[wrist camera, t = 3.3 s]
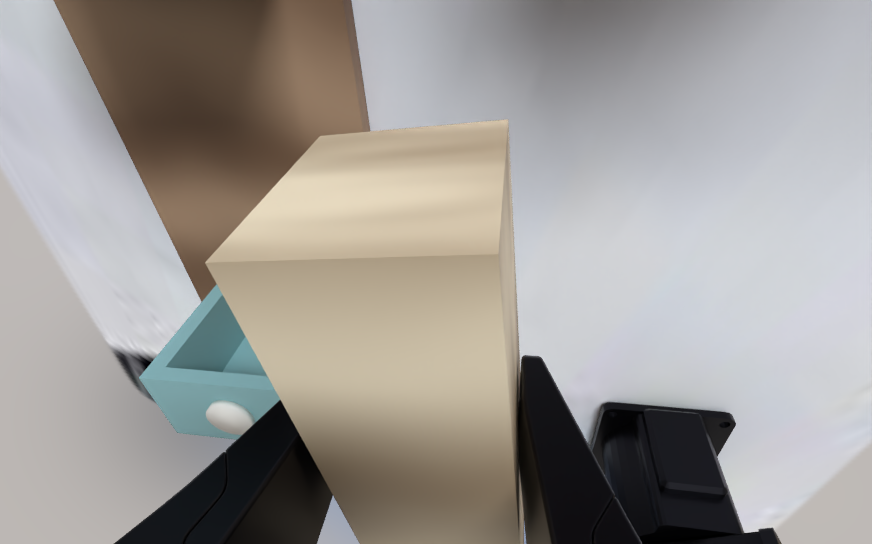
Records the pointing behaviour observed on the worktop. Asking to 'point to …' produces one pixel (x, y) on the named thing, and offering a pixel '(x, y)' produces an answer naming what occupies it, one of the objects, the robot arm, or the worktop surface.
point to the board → (219, 100)
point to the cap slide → (210, 375)
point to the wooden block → (393, 326)
